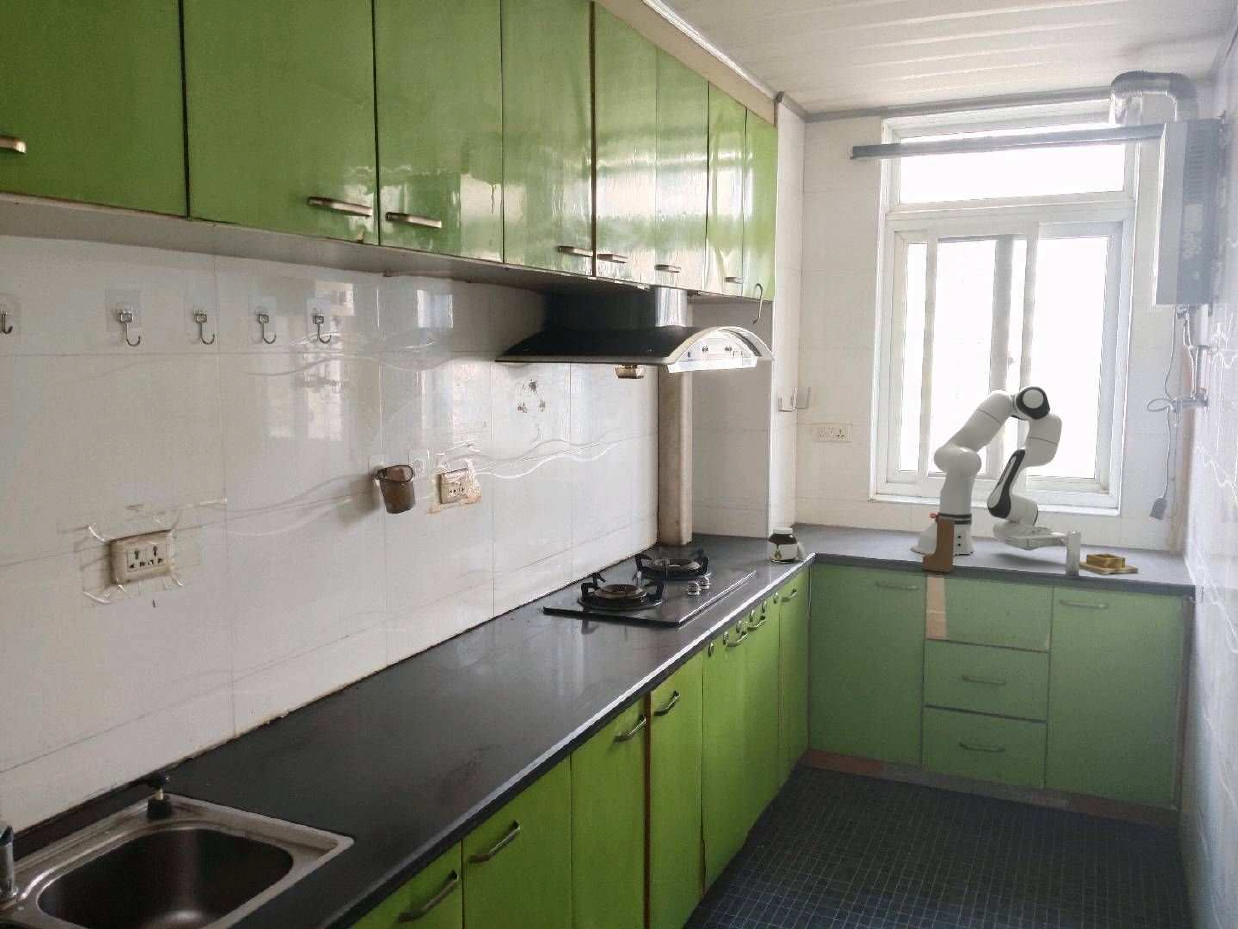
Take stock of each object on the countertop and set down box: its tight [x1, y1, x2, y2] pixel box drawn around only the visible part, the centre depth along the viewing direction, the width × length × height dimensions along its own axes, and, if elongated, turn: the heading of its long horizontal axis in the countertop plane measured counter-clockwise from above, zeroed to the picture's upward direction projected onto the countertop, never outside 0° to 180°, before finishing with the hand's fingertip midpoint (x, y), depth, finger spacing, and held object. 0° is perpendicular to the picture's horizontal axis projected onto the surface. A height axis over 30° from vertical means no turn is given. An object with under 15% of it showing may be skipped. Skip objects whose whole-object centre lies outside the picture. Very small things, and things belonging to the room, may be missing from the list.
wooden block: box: [921, 517, 955, 573], centre depth 334 cm, size 9×4×18 cm, turn 52°
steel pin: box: [1065, 530, 1082, 576], centre depth 329 cm, size 4×4×14 cm
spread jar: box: [767, 526, 807, 563], centre depth 349 cm, size 12×11×12 cm
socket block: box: [1079, 552, 1139, 575], centre depth 337 cm, size 14×14×4 cm
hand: (1053, 544), depth 338 cm, fingers open, 8 cm apart
